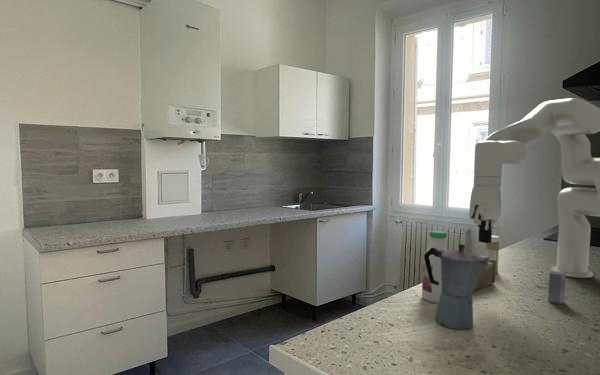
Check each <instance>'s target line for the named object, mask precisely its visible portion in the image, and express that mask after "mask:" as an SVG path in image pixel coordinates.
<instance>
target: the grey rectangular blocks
mask: <svg viewBox="0 0 600 375" xmlns="http://www.w3.org/2000/svg"><path fill="white" fill-rule="evenodd" d="M478 256H479V257H480V258H483V259H485V260H486V261H488V262H489V257H487V256H485V255H482V254H481V255H480V254H479V255H478ZM566 277H567V276H566V274H564V273H560V272H555V271H554V272H552V271H551V272H549V280H548V294H547V296H548V297H547V302H549V303H551V304H555V305H562V304H564V303H565V297H566V296H565V293H566V279H567V278H566Z"/></svg>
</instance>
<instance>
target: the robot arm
mask: <svg viewBox="0 0 600 375" xmlns="http://www.w3.org/2000/svg"><path fill="white" fill-rule="evenodd" d="M549 132H550V133H551V134H552V135H553V136H554V137H555V138H556V139H557V140H558V142H559V144H560V148H561V150H560V151H561V176H562V179H563V181H564V182H566V183H567V184H573V185H584V186H586V185H587V186H595V188H588V187H576V186H575V187H566V188H563V189H561V190H560V191H559V193H558V195H557V198H556V200H557V208H558V217H559V218H558V220H559V221H558V222H559V223H558V233H557V234H558V236H557V237H558V238H557V251H556V252H557V253H556V265H554V266H552V267H551V272H554V271H555V272H560V273H564V274H566V277H569V278H576V279H590V278H593V276H594V273H593V272H592V271H590V270H589V265H590V262H589V258H590V256H589V255H590V245H591V243H590V242H591V230H592V229H591V228H592V227H591V224H590V221H589V220H588V219H587V217H586V216H591V217H600V157H592V154H591V152H592V151H591V142H590V140H589V137H587V135H590V134H591V135H593V134H597V133H599V132H600V107H598V106H596V105H594V104H592V103H590V102H588V101H586V100H584V99H580V98H577V97H571V98H568V97H567V98H561V99H560V98H559V99H553V100H548V101H544V102H542V103H540V104H539V105H537V106H536V107H535V108H534V109H533V110H531V111H529V113H528V114H527V115H526V116H524V117H523V118H522V119H521V120H520V121H517V122H515V123H511V124H510V125H507V126H505V127H503V128H500V129H498V130H496V131H495V132H493V133H491V134H490V135H489V136H487V137H486V138H485V139H484V140H480V141H477V142H476V144H475V146H474V166H473V186H472V190H471V194H470V200H469V201H470V202H469V212H468V213H469V214H468V215H469V216H468V217H469V219H471V220H473V224H474V225H477V229H478V243H479V242H480V243H484V244H486V243H491V239H492V235H493V229H494V224H495V223H496V222H497V221H498V218H500V217H501V212H502V211H501V210H502V192H501V188H502V175H503V174H502V173H503V172H502V171H503V170H502V169H503V166H517V165H520V164H522V163H523V162H524V161H525V160H526V158H527V156H528V149H527V147H526V146H528V145H530V144H534V143H537V142H538V141H541V140H542V139H543V138H544V137H545V136H546V135H547V134H548V133H549Z"/></svg>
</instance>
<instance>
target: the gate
mask: <svg viewBox="0 0 600 375" xmlns="http://www.w3.org/2000/svg"><path fill="white" fill-rule="evenodd" d="M495 266H496V260H489V265H486V267H485V268H484V270H483V271H482V273H481V274H480V276H479V277H478V279H477V283H476V287H475V289H473V292H476V291H478V290H479V289H482V288H485V287H487V286H490V285H492V284H495V282H496V273H495Z"/></svg>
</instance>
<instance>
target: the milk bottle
mask: <svg viewBox="0 0 600 375" xmlns="http://www.w3.org/2000/svg"><path fill="white" fill-rule="evenodd" d="M447 235H448V234H447V231H445V230H444V231H443V230H437V229H436V230H430V232H429V240H430V241H429V245H428V247H427V249H426V251H425V253H424V254H426V253H427V251H429V250H430V249H431V248H432V247H433V248H435V249H437V250H444V251H449V250H448V247H447V243H446V240H447V237H448V236H447ZM429 259H430V265H431V268H432V275H433V278H434V280H435V281H438V282H439V285H435V284H432V283H430V280H429V276H428V272H427V267H426V264H425V260H424V259H423V264H422V280H421V281H422V284H421V286H422V287H421V297H422V299H423V300H425V301H427V302H431V303H437V304H438V303H439V299H440V295H441V291H442V278H441V276H442V275H441V258H440V257H436V256H434V255H433V254H432V255H430V256H429Z"/></svg>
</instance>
